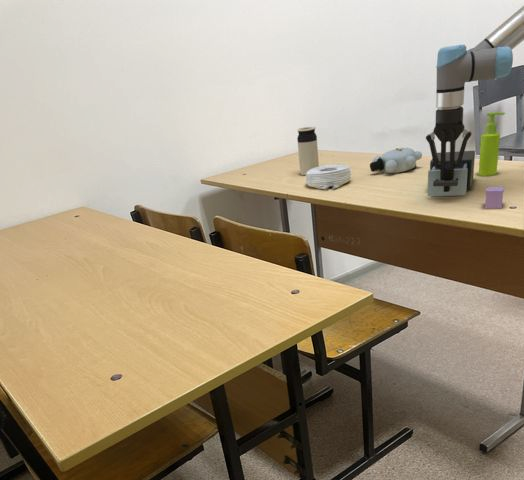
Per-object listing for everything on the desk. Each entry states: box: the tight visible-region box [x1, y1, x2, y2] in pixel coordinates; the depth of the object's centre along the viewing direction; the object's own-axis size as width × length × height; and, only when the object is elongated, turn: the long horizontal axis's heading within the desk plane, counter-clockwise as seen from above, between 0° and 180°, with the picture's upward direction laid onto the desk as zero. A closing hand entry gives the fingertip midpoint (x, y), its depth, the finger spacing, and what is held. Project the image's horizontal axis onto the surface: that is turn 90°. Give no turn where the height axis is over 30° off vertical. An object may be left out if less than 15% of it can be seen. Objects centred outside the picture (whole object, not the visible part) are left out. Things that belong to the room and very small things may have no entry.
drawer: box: [427, 162, 468, 197], centre depth 167 cm, size 18×11×8 cm, turn 158°
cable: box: [304, 164, 352, 191], centre depth 202 cm, size 18×18×6 cm
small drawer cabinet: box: [429, 150, 476, 192], centre depth 176 cm, size 15×13×10 cm
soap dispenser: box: [478, 111, 506, 177], centre depth 181 cm, size 6×7×20 cm
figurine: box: [369, 147, 423, 174], centre depth 208 cm, size 17×8×20 cm
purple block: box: [484, 186, 505, 210], centre depth 152 cm, size 4×4×5 cm
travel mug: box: [296, 126, 320, 176], centre depth 221 cm, size 8×8×18 cm
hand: (446, 190), depth 163 cm, fingers closed
